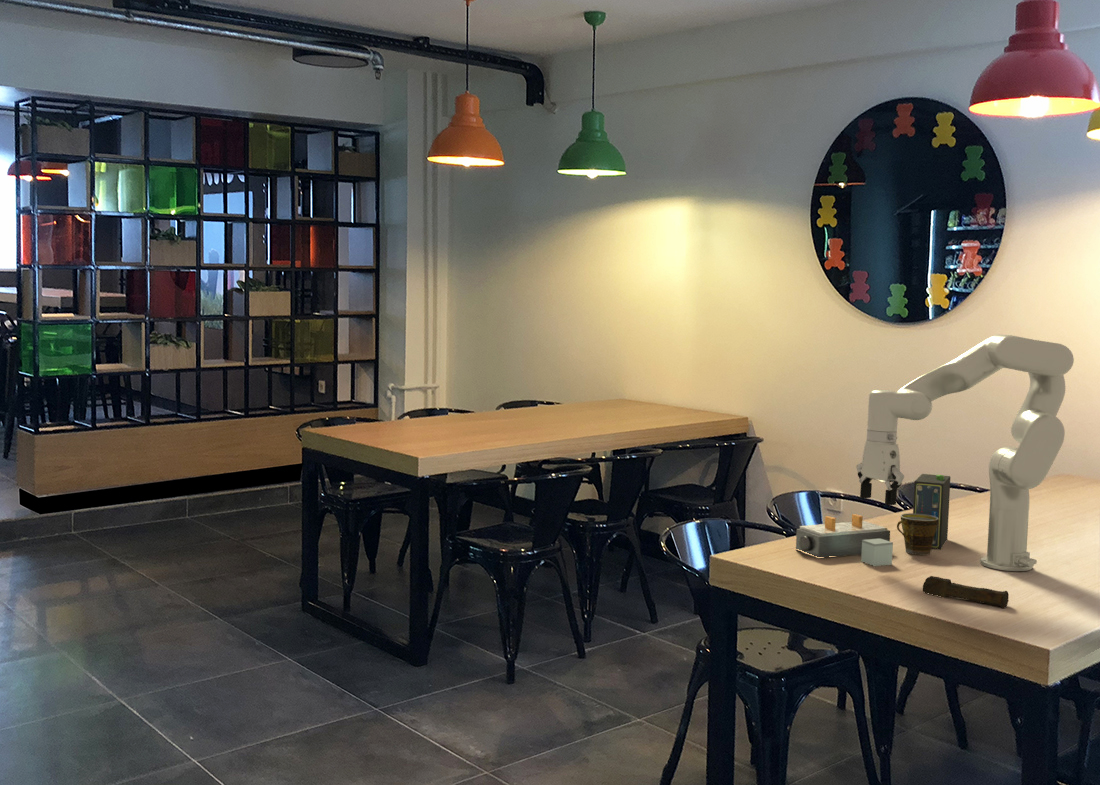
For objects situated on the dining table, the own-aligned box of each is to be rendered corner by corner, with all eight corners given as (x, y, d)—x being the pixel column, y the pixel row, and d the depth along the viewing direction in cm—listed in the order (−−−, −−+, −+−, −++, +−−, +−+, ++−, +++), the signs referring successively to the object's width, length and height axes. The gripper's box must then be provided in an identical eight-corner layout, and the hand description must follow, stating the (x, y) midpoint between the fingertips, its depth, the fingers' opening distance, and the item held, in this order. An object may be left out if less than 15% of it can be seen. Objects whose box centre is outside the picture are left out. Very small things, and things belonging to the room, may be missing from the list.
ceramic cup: (917, 546, 293) (919, 512, 292) (944, 554, 284) (946, 519, 283) (883, 550, 287) (884, 515, 286) (909, 558, 278) (911, 522, 277)
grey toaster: (889, 551, 286) (890, 517, 285) (814, 559, 276) (815, 523, 276) (865, 543, 295) (866, 510, 294) (792, 550, 286) (793, 515, 285)
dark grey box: (910, 547, 292) (913, 477, 290) (919, 535, 308) (922, 469, 306) (940, 551, 288) (943, 480, 286) (948, 538, 304) (951, 471, 302)
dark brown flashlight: (1009, 607, 235) (1010, 587, 235) (1004, 610, 232) (1005, 590, 232) (926, 591, 247) (927, 572, 247) (920, 595, 244) (921, 575, 244)
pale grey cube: (891, 564, 272) (892, 542, 272) (873, 566, 270) (874, 544, 269) (879, 560, 277) (880, 538, 276) (861, 562, 274) (862, 540, 274)
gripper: (916, 441, 264) (912, 507, 265) (871, 432, 280) (867, 494, 281) (892, 442, 261) (888, 508, 262) (848, 433, 277) (845, 496, 278)
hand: (877, 501), depth 272 cm, fingers open, 9 cm apart
